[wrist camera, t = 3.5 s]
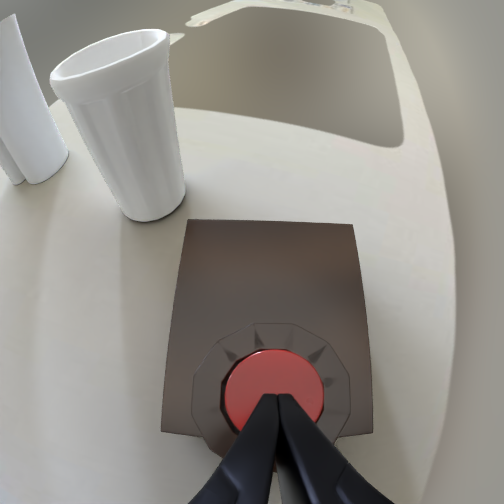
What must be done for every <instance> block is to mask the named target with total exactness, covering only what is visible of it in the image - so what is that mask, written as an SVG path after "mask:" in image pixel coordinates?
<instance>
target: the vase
mask: <svg viewBox="0 0 504 504" xmlns="http://www.w3.org/2000/svg"><path fill="white" fill-rule="evenodd" d="M67 157H68V149H67V147H66V145H65V143H64V141H63V139H62V137H61V134H60V132H59V130H58V128H57V126H56V124H55V122H54V119H53V117H52V115H51V113H50V110H49V108H48V106H47V103H46V101H45V99H44V97H43V94H42V91H41V89H40V87H39V84H38V82H37V79H36V76H35V74H34V71H33V69H32V66H31V63H30V60H29V57H28V55H27V52H26V49H25V46H24V43H23V40H22V36H21V34H20V30H19V27H18V23H17V20H16V16H15V14H13V15H11V16H9V17H7V18H6V19H4V20H2V21H1V22H0V165H1V167H2V168H3V170H4V171H5V173H6V174H7V176H8V177H9V179H10V180H11V182H12V183H13V184H14V185H18V184H20V183H22V182H23V181H24V180H25V179H27V181H28V182H29V183H31V184H38V183H41V182H43V181H45V180H47V179H48V178H50V177H51V176H52V175H54V174H55V173H56V172H57V171H58V170H59V169H60V168H61V167H62V166H63V164H64V163H65V161H66V160H67Z"/></svg>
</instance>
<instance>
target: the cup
mask: <svg viewBox="0 0 504 504" xmlns="http://www.w3.org/2000/svg"><path fill="white" fill-rule="evenodd" d="M169 52H170V35H169V34H168V33H167V32H165V31H162V30H160V29H144V30H137V31H131V32H126V33H122V34H119V35H116V36H113V37H109V38H106V39H104V40H101V41H99V42H96V43H94V44H91V45H89V46H87V47H85V48H83V49H82V50H80V51H78V52H76V53H74V54H73V55H71V56H69V57H68V58H67V59H65V60H64V61H63V62H61V63H60V64H59V65H58V66H57V67H56V68H55V69H54V70H53V71H52V73H51V75H50V86H51V87H52V89H53V91H54V92H55V94H56V96H57V97H58V98H59V99H61V100H62V101H63V102H65V104H66V106H67V108H68V110H69V112H70V114H71V117H72V119H73V121H74V123H75V125H76V127H77V129H78V131H79V133H80V135H81V137H82V139H83V141H84V143H85V145H86V147H87V149H88V150H89V152H90V154H91V156H92V158H93V160H94V162H95V164H96V166H97V167H98V169H99V171H100V173H101V175H102V176H103V178H104V180H105V182H106V184H107V185H108V187H109V189H110V191H111V192H112V194H113V196H114V198H115V199H116V201H117V203H118V204H119V206H120V208H121V210H122V212H123V214H124V215H126V216H127V217H129V218H130V219H132V220H136V221H142V222H146V221H152V220H157V219H160V218H162V217H164V216H165V215H167V214H169V213H171V212H172V211H173V210H174V209H175V208H176V207H177V206H178V205H179V204H180V203H181V202H182V199H183V197H184V195H185V193H186V188H185V179H184V173H183V167H182V161H181V155H180V148H179V141H178V135H177V128H176V121H175V113H174V106H173V99H172V90H171V83H170V73H169V64H168V58H169Z"/></svg>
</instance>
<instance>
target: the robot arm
mask: <svg viewBox="0 0 504 504" xmlns="http://www.w3.org/2000/svg"><path fill="white" fill-rule="evenodd" d="M275 459H276V467H277V473H278V480H279V486H280V492H281V499H282V504H394V503H393V502H392V501H390V500H389V499H388V498H386V497H385V496H384V495H383V494H381V493H380V492H379V491H378V490H376V489H375V488H374V487H373V486H372V485H371V484H370V483H368V482H367V481H366V480H365V479H364V478H363V477H362V476H361V475H360V474H359V473H358V472H357V471H356V470H355V468H354V467H353V466H352V465H351V464H350V463H348V461H347V460H346V458H345V457H344V456H343V455H342V454H341V453H340V452H339V450H338V449H337V448H336V447H335V446H334V445H333V444H332V442H331V441H330V440H329V439H328V438H327V437H326V435H325V434H324V433H323V432H322V431H321V430H320V428H319V427H318V426H317V425H316V424H315V422H314V421H313V420H312V419H311V418H310V416H309V415H308V414H307V413H306V412H305V410H304V409H303V408H302V407H301V406H300V404H299V403H298V402H297V401H296V399H295V398H294V397H293V396H292V395H291V394H289V393H279V394H278V395H276V394H275V393H264V394H263V395H262V396H261V398H260V400H259V401H258V403H257V405H256V406H255V408H254V410H253V412H252V413H251V415H250V417H249V418H248V420H247V422H246V423H245V425H244V426H243V428H242V430H241V431H240V433H239V435H238V436H237V438H236V439H235V441H234V443H233V444H232V446H231V447H230V449H229V450H228V452H227V454H226V455H225V457H224V458H223V460H222V461H221V463H220V464H219V467H217V469H216V470H215V472H214V473H213V474H212V476H211V477H210V479H209V480H208V481H207V483H206V484H205V485H204V487H203V488H202V489H201V490H200V491H199V492H198V493H197V494H196V496H195V497H194V498H193V499H192V500H191V501H190V502H189V503H188V504H268V499H269V493H270V487H271V481H272V475H273V468H274V461H275Z"/></svg>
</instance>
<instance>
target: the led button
mask: <svg viewBox="0 0 504 504" xmlns="http://www.w3.org/2000/svg"><path fill="white" fill-rule="evenodd" d="M264 393H275V394H276V395H278V394H279V393H289V394H291V395H292V396H293V397H294V398H295V399H296V401H297V402H298V403H299V404H300V406H301V407H302V408H303V409H304V410H305V412H306V413H307V414H308V415H309V416H310V418H311V419H312V420H313V421H314V422H316V421H317V419H318V417H319V415H320V413H321V411H322V408H323V403H324V388H323V384H322V381H321V378H320V376H319V374H318V372H317V371H316V369H315V368H314V367H313V366H312V365H311V364H310V363H309V362H308V361H307V360H306V359H304V358H303V357H301V356H300V355H298V354H295V353H293V352H290V351H286V350H278V349H273V350H265V351H261V352H257V353H255V354H253V355H251V356H249V357H247V358H246V359H244V360H243V361H242V362H240V363H239V364H238V365H237V366H236V368H235V369H234V370H233V372H232V373H231V375H230V377H229V379H228V382H227V385H226V388H225V405H226V409H227V413H228V415H229V417H230V419H231V421H232V422H233V424H234V425H235V426H236V427H237V428H238V429H239V430H240V431H241V430H242V428H243V426H244V425H245V423H246V422H247V420H248V418H249V417H250V415H251V413H252V412H253V410H254V408H255V406H256V405H257V403H258V401H259V400H260V398H261V396H262V395H263V394H264Z"/></svg>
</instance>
